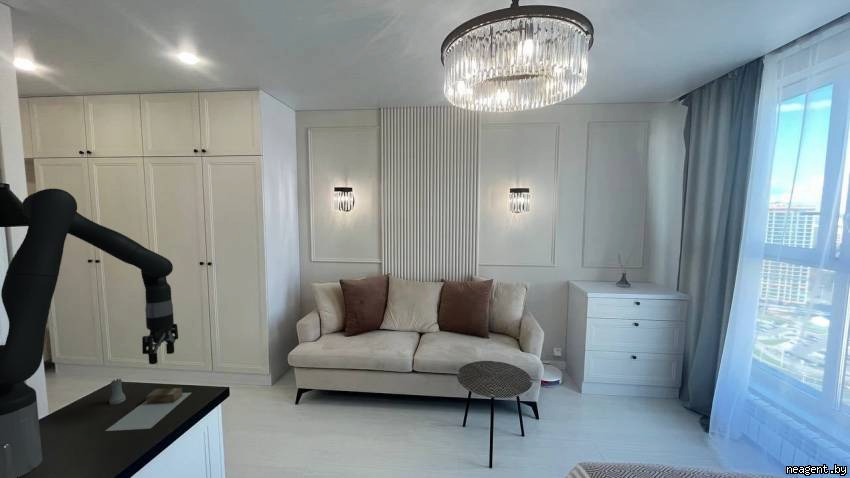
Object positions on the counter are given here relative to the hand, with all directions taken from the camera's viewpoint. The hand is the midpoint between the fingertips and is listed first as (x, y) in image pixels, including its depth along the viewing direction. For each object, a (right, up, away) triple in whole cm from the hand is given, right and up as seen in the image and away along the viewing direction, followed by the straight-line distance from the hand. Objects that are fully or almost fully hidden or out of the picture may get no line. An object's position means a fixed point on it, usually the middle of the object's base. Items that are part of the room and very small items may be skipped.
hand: (162, 358), depth 118 cm
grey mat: (0, -16, -5) cm, 17 cm away
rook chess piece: (-17, -16, +1) cm, 23 cm away
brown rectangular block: (0, -15, +1) cm, 15 cm away
